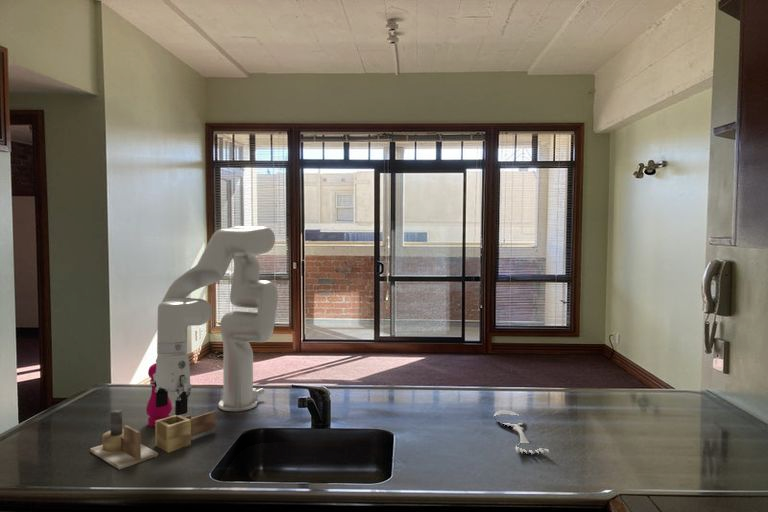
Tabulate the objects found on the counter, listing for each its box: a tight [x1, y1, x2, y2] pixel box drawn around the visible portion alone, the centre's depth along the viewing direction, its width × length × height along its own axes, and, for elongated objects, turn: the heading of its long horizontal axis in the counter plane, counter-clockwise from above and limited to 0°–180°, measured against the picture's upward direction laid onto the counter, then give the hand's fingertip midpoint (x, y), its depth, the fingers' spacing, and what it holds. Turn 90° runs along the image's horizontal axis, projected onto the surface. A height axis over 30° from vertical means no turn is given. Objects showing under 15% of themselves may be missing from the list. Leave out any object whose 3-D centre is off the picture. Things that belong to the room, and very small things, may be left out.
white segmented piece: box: [493, 409, 550, 455], centre depth 154 cm, size 9×32×4 cm, turn 1°
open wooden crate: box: [154, 410, 216, 454], centre depth 147 cm, size 16×7×7 cm, turn 142°
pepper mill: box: [145, 358, 173, 427], centre depth 159 cm, size 7×7×20 cm
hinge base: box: [89, 409, 159, 470], centre depth 138 cm, size 16×10×10 cm, turn 52°
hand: (171, 410), depth 142 cm, fingers open, 9 cm apart
